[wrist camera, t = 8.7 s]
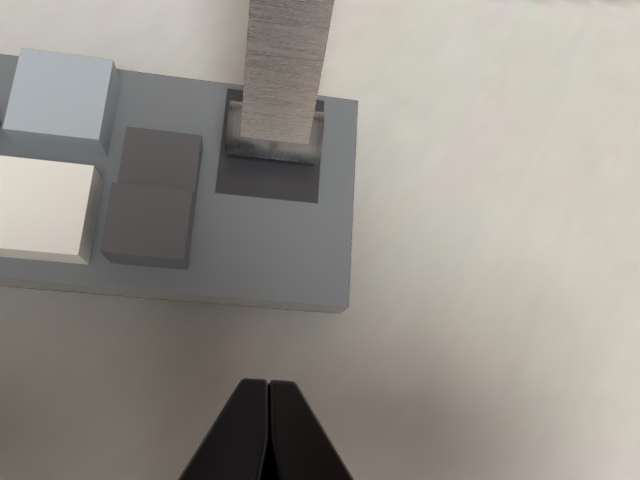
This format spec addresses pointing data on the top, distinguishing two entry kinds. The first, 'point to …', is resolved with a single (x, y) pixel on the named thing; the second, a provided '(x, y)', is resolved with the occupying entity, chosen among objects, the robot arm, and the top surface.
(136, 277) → the panel
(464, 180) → the top surface
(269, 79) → the orange knob lever
